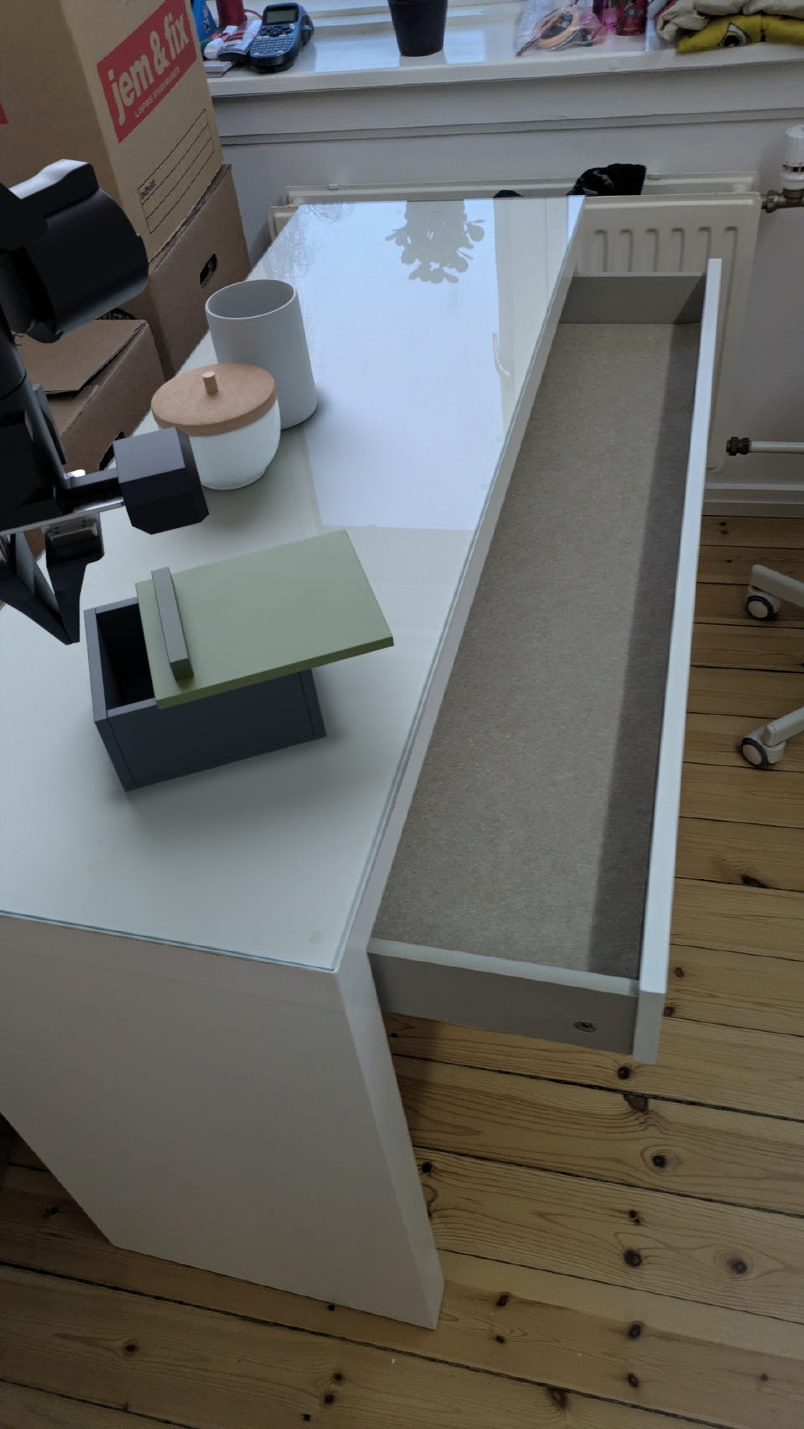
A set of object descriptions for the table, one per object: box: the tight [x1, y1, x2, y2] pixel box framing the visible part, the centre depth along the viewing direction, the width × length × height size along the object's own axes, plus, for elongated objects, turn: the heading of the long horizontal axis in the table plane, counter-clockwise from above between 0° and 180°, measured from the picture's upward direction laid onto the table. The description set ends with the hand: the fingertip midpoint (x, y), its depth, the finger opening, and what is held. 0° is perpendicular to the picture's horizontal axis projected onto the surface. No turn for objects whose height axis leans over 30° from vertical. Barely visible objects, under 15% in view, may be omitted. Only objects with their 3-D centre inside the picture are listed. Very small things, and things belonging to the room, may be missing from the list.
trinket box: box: [150, 363, 282, 491], centre depth 95 cm, size 11×11×9 cm
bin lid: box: [134, 528, 395, 710], centre depth 71 cm, size 15×13×2 cm
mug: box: [204, 278, 319, 431], centre depth 102 cm, size 12×8×11 cm
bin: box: [83, 596, 328, 793], centre depth 74 cm, size 14×12×6 cm
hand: (72, 639), depth 62 cm, fingers closed
